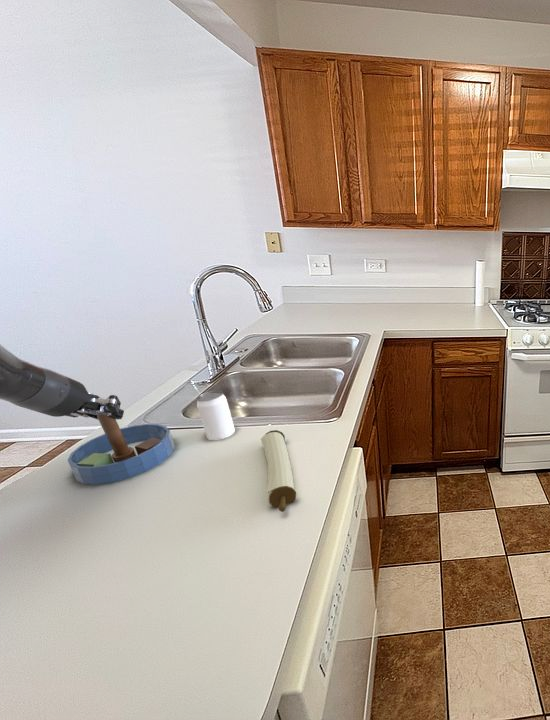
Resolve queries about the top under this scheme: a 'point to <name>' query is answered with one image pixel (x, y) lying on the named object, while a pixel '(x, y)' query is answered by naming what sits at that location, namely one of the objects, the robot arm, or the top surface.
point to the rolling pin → (278, 470)
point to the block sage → (96, 460)
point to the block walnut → (147, 445)
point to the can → (215, 415)
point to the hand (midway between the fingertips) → (112, 415)
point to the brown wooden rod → (115, 438)
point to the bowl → (124, 467)
